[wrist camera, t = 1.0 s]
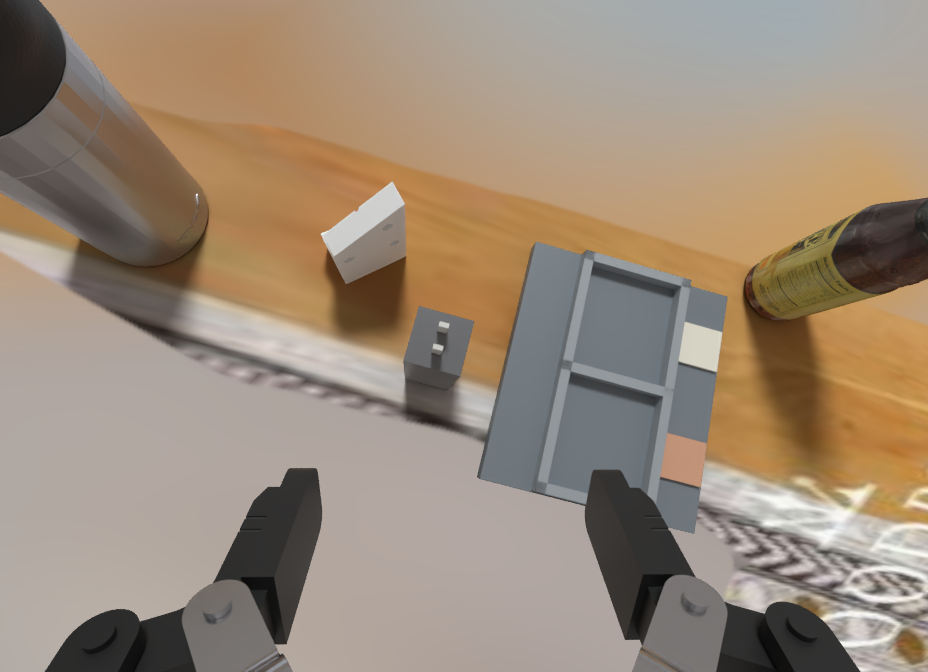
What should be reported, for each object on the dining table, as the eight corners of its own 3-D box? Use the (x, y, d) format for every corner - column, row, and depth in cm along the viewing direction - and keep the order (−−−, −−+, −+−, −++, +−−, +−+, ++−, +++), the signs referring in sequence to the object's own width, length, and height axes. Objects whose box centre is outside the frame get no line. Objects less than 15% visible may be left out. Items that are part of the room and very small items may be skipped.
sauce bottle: (790, 256, 46) (1065, 133, 27) (808, 319, 45) (1108, 237, 26) (729, 264, 45) (967, 142, 26) (746, 328, 44) (1008, 250, 25)
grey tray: (476, 476, 39) (482, 480, 36) (531, 248, 43) (539, 236, 41) (683, 529, 40) (703, 537, 37) (716, 301, 44) (736, 293, 42)
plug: (405, 379, 40) (403, 357, 28) (416, 338, 41) (419, 299, 28) (446, 390, 40) (462, 373, 28) (457, 349, 41) (477, 315, 29)
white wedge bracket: (452, 224, 40) (404, 204, 32) (364, 285, 44) (300, 281, 36) (432, 188, 41) (380, 159, 33) (346, 251, 44) (279, 239, 36)
